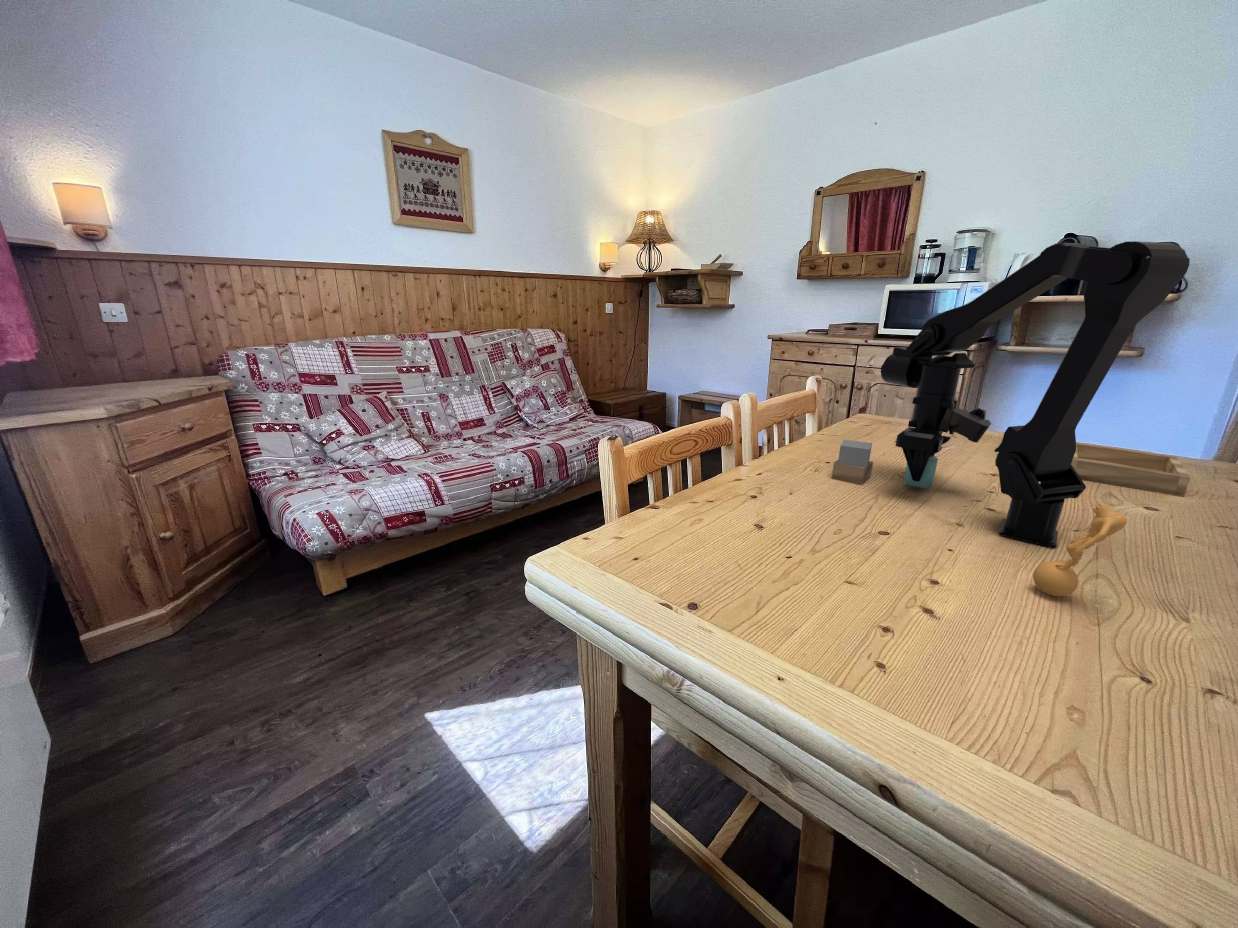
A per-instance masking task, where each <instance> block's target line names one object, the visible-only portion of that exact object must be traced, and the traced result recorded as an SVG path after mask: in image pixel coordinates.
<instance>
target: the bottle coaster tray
mask: <svg viewBox="0 0 1238 928" xmlns="http://www.w3.org/2000/svg"><path fill="white" fill-rule="evenodd" d="M1071 465H1072V466H1073V468H1074V469H1075V471H1076V472H1077V474H1078V475H1079V477H1080V478H1081V480H1082V481H1088V482H1093V483H1097V484H1098V483H1099V484H1105V485H1110V486H1116V487H1122V488H1130V489H1136V490H1139V491H1140V490H1141V491H1147V492H1152V491H1153V493H1157V492H1159V493H1158V494H1163V493H1164V494H1163V495H1169V494H1170V496H1175V495H1177V497H1181V496H1182V497H1184V496H1185V494H1186V491H1187V489H1188V486H1189V483H1190V482H1191V478H1192V477H1191V476H1190V474H1189V473H1188V471H1187V470H1186V469H1185V467H1184V465H1183V464H1182V462H1181V461H1180V460H1179V459H1178V457H1177V456H1172V455H1165V454H1157V453H1152V452H1151V453H1150V452H1143V451H1135V450H1128V449H1120V448H1113V447H1106V446H1105V447H1104V446H1098V445H1090V444H1084V443H1083V444H1082V443H1077V442H1076V451H1075V454H1074V457H1073V460H1072V463H1071Z"/></svg>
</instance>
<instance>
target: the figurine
mask: <svg viewBox="0 0 1238 928" xmlns="http://www.w3.org/2000/svg"><path fill="white" fill-rule="evenodd" d="M1092 512H1094V513H1095V516H1094V517H1093V519H1092V521H1091V525H1090V527H1088V528H1087V530H1086V531H1085V533H1087V534H1086V535H1085V534H1084V535H1082V536H1080V537H1077V538H1074V539H1072V540H1070V542H1069V544H1067V545H1066V552H1067V553H1068V554H1069V556H1070V559H1067V560H1063V559H1060V560H1058V561H1051V560H1050V561H1045V562H1043V563H1040V564H1038V566H1036V567H1035V569H1034V571H1033V574H1032V580H1033V583H1034V585H1035V586H1036V587H1037V588H1038V589H1039V590H1040V591H1041V592H1042V593H1044V594H1046V595H1049V596H1053V597H1066V596H1070V595H1071V594H1073V593H1074V592H1075V591H1076V590H1077V589H1078V586H1079V576H1078V574H1077V573H1076V571H1075V570H1074V569H1073V568H1072V567H1074V566H1076V565H1078V564H1079V562H1080V560H1081V559H1082V556H1084V555H1083V554H1084V553H1083V550H1088V549H1090V548H1092V547H1094V545H1096V544H1097V543H1099V542H1102V541H1105V540H1106V539H1107V537H1110V536H1112V535H1115V534H1117V533H1118V532H1119V531H1121V530H1122V529H1124V528H1125V526H1126V525H1127V523H1128V519H1127V517H1126V516H1125V515H1124V514H1122V513H1120V512H1117V511H1115V510H1112V509H1110V507H1108V506H1107V505H1105V504H1104V503H1098V504H1095V506H1094V507H1093V508H1092Z"/></svg>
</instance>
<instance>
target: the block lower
mask: <svg viewBox="0 0 1238 928" xmlns="http://www.w3.org/2000/svg"><path fill="white" fill-rule="evenodd" d="M873 465H874V461H872V460H871V461H870V460H869V463H868V465H867V468H866V467H859V466H853V465H846V464H839V463H838V459H837V460H835V461H834V462H833V465H832V473H831V479H832V480H835V481H840V482H845V483H849V484H855V485H858V486H862V485H864V484H865V483H866V482H867V481H869V480H870V479H871V478H872V473H873V472H872V471H873Z"/></svg>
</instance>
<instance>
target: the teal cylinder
mask: <svg viewBox="0 0 1238 928" xmlns="http://www.w3.org/2000/svg"><path fill="white" fill-rule="evenodd" d="M938 461H939V458H938V457H936V456H935V455H934V456H930V458H929V461H928V463H927V465H926V468H925V470H924V472H923V475H922V477H921V479H920V481H919V482H917V481H913V480H912V477H911V474H910V470H909V467H908V464H907V463H906V467H905V471H904V476H903V483H905V484H907V485H909V486H912V487H916V488H917V487H918V488H931V487H933V485H934V480H935V476H936V475H935V474H936V469H937V466H938Z"/></svg>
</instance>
